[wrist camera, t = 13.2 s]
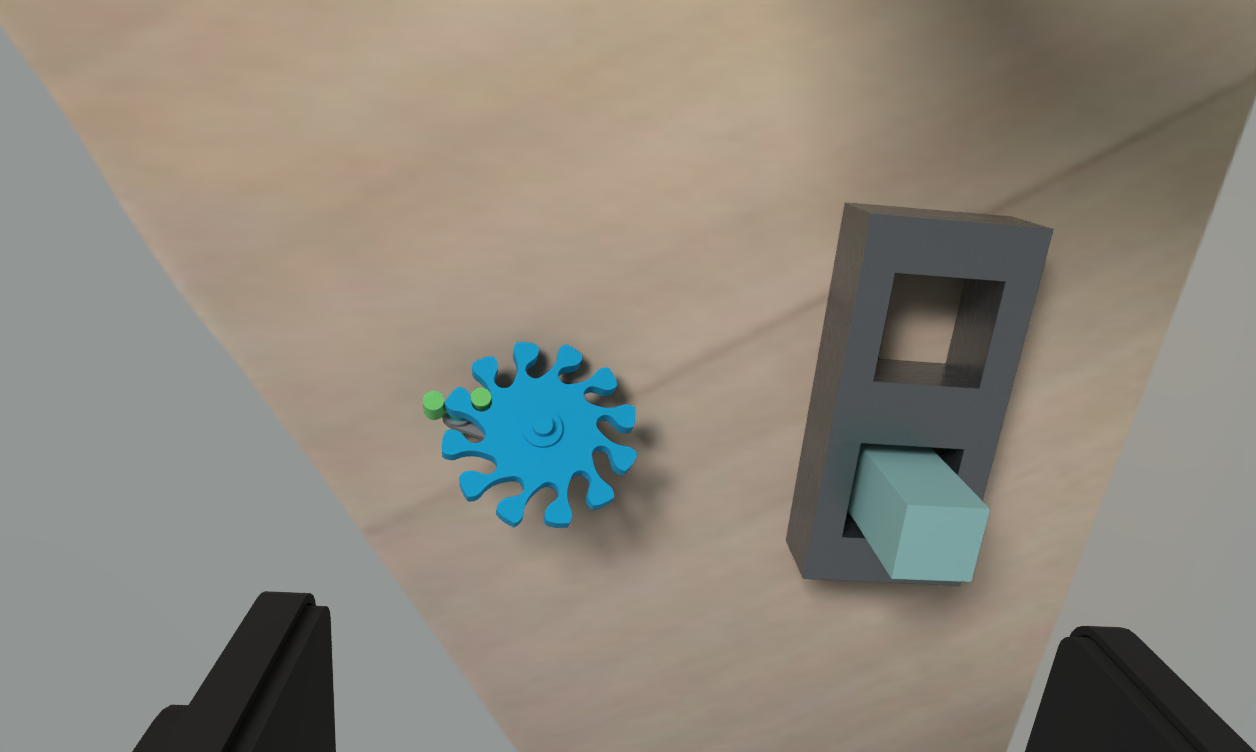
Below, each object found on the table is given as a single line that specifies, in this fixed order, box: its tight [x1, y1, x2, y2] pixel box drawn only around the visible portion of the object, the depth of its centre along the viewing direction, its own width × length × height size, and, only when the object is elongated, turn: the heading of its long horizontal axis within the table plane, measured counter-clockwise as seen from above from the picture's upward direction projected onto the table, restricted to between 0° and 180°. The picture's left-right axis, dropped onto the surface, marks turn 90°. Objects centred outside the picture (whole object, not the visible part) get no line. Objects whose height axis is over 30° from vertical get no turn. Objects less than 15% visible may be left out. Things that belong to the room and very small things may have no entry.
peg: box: [848, 443, 990, 582], centre depth 42 cm, size 4×4×9 cm
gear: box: [423, 342, 637, 528], centre depth 43 cm, size 11×6×10 cm
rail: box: [786, 203, 1053, 586], centre depth 43 cm, size 20×9×4 cm, turn 175°
